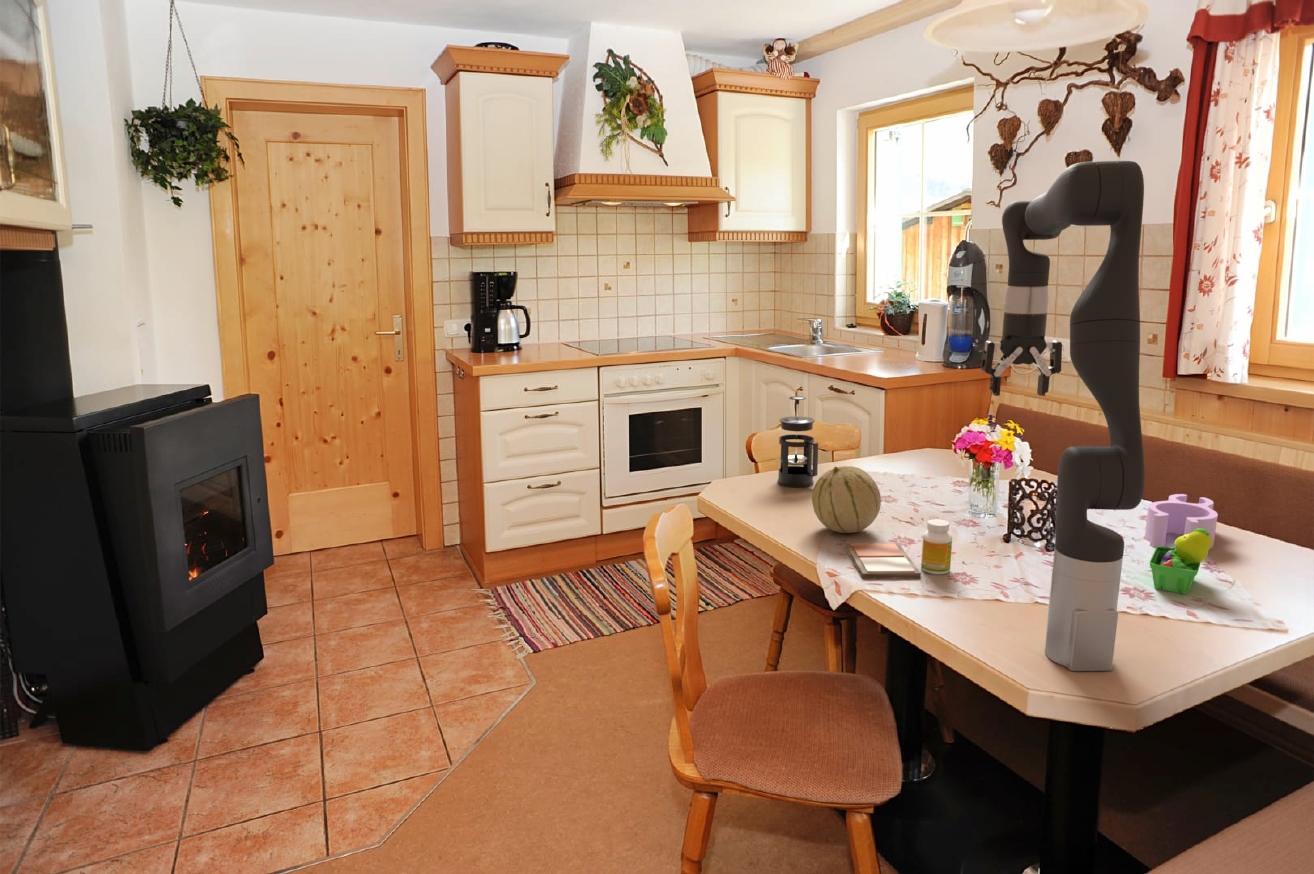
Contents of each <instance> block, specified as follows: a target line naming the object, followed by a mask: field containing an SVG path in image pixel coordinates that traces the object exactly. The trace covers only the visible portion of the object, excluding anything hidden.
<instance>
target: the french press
mask: <svg viewBox="0 0 1314 874" xmlns="http://www.w3.org/2000/svg"><path fill="white" fill-rule="evenodd" d="M788 399H789V400H793V401H794V400H795V405H796V412H795V413H796V415H794V416H785V417H781V418H780V419H779V422H780V428H781V429H782V430H784V431H788V432H795V434H785V435H781V436H779V438H778V441H779V442H778V443H779V445H780V458H779V460H780V468H779V469H778V476H777V477H778V479H777V484H778V485H780V486H782V487H787V488H796V489H799V488H806V487H811V486H813V485H814V484H815V483H814V477H816V476H818V465H819V464H818V463H819V443H818V441H817V442H816V441H815V437H813V436H810V435H807V434H798V432H807V431H812V430H813V429H814V428H813V425H814V423H815V419H814V418H811V417H807V416H799V405H800V401H802V400H806V397H805V396H803V395H792V396H789V398H788ZM789 440H795V441H789ZM798 440H800V441H798ZM801 440H802V441H801ZM789 448H795V454H791V455H790V454H789ZM798 448H803V455H800V454H799V455H798Z"/></svg>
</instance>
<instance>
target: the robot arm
mask: <svg viewBox="0 0 1314 874" xmlns="http://www.w3.org/2000/svg"><path fill="white" fill-rule="evenodd" d="M1144 198H1145V180H1144V174H1143V171H1142V168H1141V166H1140V165H1139V164H1138V163H1137V162H1136V161H1132V160H1114V161H1113V160H1103V161H1102V160H1101V161H1082V162H1077V163H1073V164H1072V165H1069V166H1068V167H1066V169H1064V170H1063V171H1062V172H1061V173H1060V174H1059V176H1058V177H1057V179H1056V180H1054V182H1053V183H1052V185H1050V187H1049V189H1048V191H1046V192H1043V193H1042V194H1040V195H1038V196H1037V197H1035V198H1033V199H1032V200H1015V201H1012V202H1010V203H1009V204H1008V205H1007V206H1006V207H1005V209H1004V211H1003V213H1002V216H1001V225H1002V231H1003V235H1004V239H1005V243H1006V249H1007V256H1008V271H1007V272H1008V276H1007V286H1006V292H1005V295H1004V296H1005V297H1004V304H1003V320H1002V322H1003V323H1002V334H1001V335H1002V336H1001V340H1000V341H990V340H986V341H984V343H983V351H982V356H981V357H982V358H981V365H980V371H981V372H983V373H986V374H987V375H988V374H989V376H990V381H989V391H990V392H991V393H992V395H993V396H995V397H1000V396H1001V384H1002V377H1001V375H1002V374H1003V372H1005V370H1006V369H1008V368H1010V366H1011V365H1012V364H1013V365H1023V364H1024V365H1032V364H1033V365H1034V367H1035V368H1036V369H1037V370H1038V372H1039V373H1040V374H1039V375H1038V376H1037V377H1038V379H1037V391H1036V394H1037V395H1038V396H1040V397H1042V396H1044V397H1045V396H1046V394H1047V393H1048V392H1049V387H1050V377H1051V376H1052V375H1054V374H1059V373H1060V372H1061V371H1062V358H1063V357H1062V356H1063V355H1062V353H1063V352H1062V351H1063V344H1062V342H1061V341H1059V340H1055V339H1054V340H1051V341H1046V340H1045V337H1046V329H1047V318H1048V317H1047V316H1048V309H1049V308H1048V307H1049V280H1050V279H1049V278H1050V267H1051V261H1050V257H1049V255H1046V254H1044V253H1040V252H1034V251H1031V250H1029V249H1027V248H1026V246H1025V243H1024V241H1034V240H1035V241H1037V240H1039V241H1040V240H1043V241H1044V240H1045V241H1046V240H1047V241H1048V240H1053V239H1057V238H1058V237H1059V236H1060V234H1061V233H1062V231H1064V230H1066V229H1067V228H1069V227H1070V226H1077V227H1078V226H1079V227H1080V226H1081V227H1086V226H1087V227H1092V226H1097V227H1098V226H1099V227H1100V226H1109V228H1110V234H1109V243H1108V247H1107V251H1106V254H1105V256H1104V259H1103V260H1102V262H1101V264H1100V266H1099V267H1098V269H1097V271H1096V272H1095V274H1094V275H1093V277H1092V278H1091V279H1090V281H1089V282H1088V284H1087V286H1085V288H1084V289H1083V291H1082V292H1081V294H1080V295H1079V297H1078V299H1077V300H1076V302H1075V303H1074V306H1073V307H1072V310H1071V313H1070V317H1069V356H1070V361H1071V363H1072V366H1073V368H1074V369H1075V371H1076V373H1077V374H1078V377H1080V379H1081V380H1082V382H1083V383H1084V385H1085V386H1086V387H1087V389H1088V390H1089V392H1090V393H1091V395H1092V397H1094V399H1095V401H1096V402H1097V403H1098V406H1100V409H1101V410H1102V413H1103V415H1104V418H1105V421H1106V425H1107V428H1108V434H1109V435H1108V436H1109V442H1110V446H1095V445H1094V446H1093V445H1090V446H1089V445H1084V446H1082V445H1081V446H1079V445H1077V446H1069V447H1067V448H1065V450H1064V451H1063V452H1062V454H1061V456H1060V458H1059V462H1058V467H1057V469H1058V470H1057V478H1056V479H1057V481H1056V487H1057V488H1056V510H1055V511H1056V512H1055V527H1054V528H1055V541H1054V550H1053V551H1054V553H1053V559H1052V560H1053V561H1052V568H1051V569H1052V571H1051V579H1050V580H1051V581H1050V591H1049V601H1048V612H1047V624H1046V636H1045V644H1044V645H1045V646H1044V653H1045V655H1046V657H1047V658H1048V659H1050V660H1051V661H1053V662H1054V663H1056V664H1058V665H1060V666H1064V667H1066V668H1067V669H1068V670H1069V671H1071V672H1077V671H1078V672H1080V671H1081V672H1082V671H1083V672H1085V671H1086V672H1091V671H1094V672H1096V671H1097V672H1098V671H1100V672H1101V671H1102V672H1103V671H1105V672H1106V671H1113V662H1114V661H1113V660H1114V652H1115V645H1116V636H1117V627H1118V619H1119V612H1118V611H1117V610H1118V601H1119V593H1120V584H1121V576H1122V567H1123V559H1124V551H1125V540H1124V538H1123V536H1122V535H1121V534H1119V533H1118V532H1117V531H1115V530H1113V529H1111V528H1108V527H1106V526H1104V525H1100V524H1097V523H1095V522H1092V521H1090V520H1089V519H1088V510H1104V511H1105V510H1109V511H1110V510H1112V511H1113V510H1114V511H1115V510H1116V511H1119V510H1120V511H1123V510H1124V511H1126V510H1127V511H1128V510H1129V511H1130V510H1133V509H1136V508H1137V507H1138V506H1139V505H1140V503H1141V502H1142V499H1143V498H1144V497H1143V496H1144V492H1145V486H1146V485H1145V484H1146V483H1145V482H1146V468H1145V454H1144V444H1143V433H1142V431H1143V430H1142V422H1141V421H1142V420H1141V411H1140V410H1141V408H1140V356H1141V353H1140V352H1141V316H1140V314H1141V311H1140V310H1141V309H1140V288H1139V287H1140V285H1139V283H1140V270H1139V269H1140V249H1141V238H1142V227H1143V225H1142V224H1143V213H1144ZM998 349H999V350H1000V351H1001V353H1002V354H1001V356H1000V357H999V358H998V360H997V361H996V363H995V364H994V365H993V361H994V354H996V353H997V352H998ZM1046 349H1047V352H1048V353H1049V366H1048V365H1047V363H1046V361H1045V360H1044V358H1043V356H1042V354H1043V352H1044V351H1045V350H1046Z"/></svg>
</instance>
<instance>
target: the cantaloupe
mask: <svg viewBox="0 0 1314 874" xmlns="http://www.w3.org/2000/svg"><path fill="white" fill-rule="evenodd" d="M881 498H882V496H881V492H880V488H879V487H878V485H877V482H875V480H874V479H873V477H872V476H871V475H870V474H869V473H868V472H866V471H865V470H863V469H862V468H860V467H858V466H857V467H856V466H852V465H842V466H834V467H833V468H832V469H829V470H826V471H825V472H824V473H822V475H820V476H819V477H818V479H817V480H816V481H815V483H814V486H813V488H812V493H811V503H812V507H813V512H814V513H815V515H816V518H817V520H819V522H820V523H821V525H823V526H824V527H825V528H826V529H828V530H830V531H832V532H837V533H841V534H851V533H857V532H861V531H863V530H866V529H867V528H868V527H869V526H871V525H872V524H873V522H874V521H875V520H876V518H877V517H878V514H879V512H880V510H881V507H882V506H881V505H882V504H881V503H882V499H881Z"/></svg>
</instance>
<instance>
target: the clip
mask: <svg viewBox="0 0 1314 874" xmlns="http://www.w3.org/2000/svg"><path fill="white" fill-rule="evenodd" d="M1187 499H1188V495H1187V494H1185V493H1175V494H1170V495H1169V496H1168V500H1160V501H1159V500H1158V501H1154V502H1151V503H1149V504H1148V506H1147V513H1146V514H1147V515H1146V524H1145V532H1144V538H1145V539H1146V540H1147V541H1148V542H1149V546H1150V547H1152V548H1156V547H1158V546H1162V547H1166V546H1165V545H1166V539H1167V534H1177V535H1178V534H1179V535H1182V536H1183V535H1186V534H1190V533H1192V532H1193V531H1194V530H1195V529H1198V528H1202V529H1205V530H1207V531H1208V532H1209V533H1210V535H1209V536H1210V538H1211V540H1212V543H1211V545H1210V547H1209V550H1211V549H1213V548H1214V546H1215V537H1216V530H1217V524H1218V523H1217V522H1218V515H1219V514H1218V512H1217V511H1215V510H1214V504H1215V503H1214V501H1213V500H1212V499H1210V498H1208V497H1204V496H1203V497H1202V496H1201V497H1199V501H1198V503H1195V502H1194V503H1193V502H1187Z"/></svg>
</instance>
